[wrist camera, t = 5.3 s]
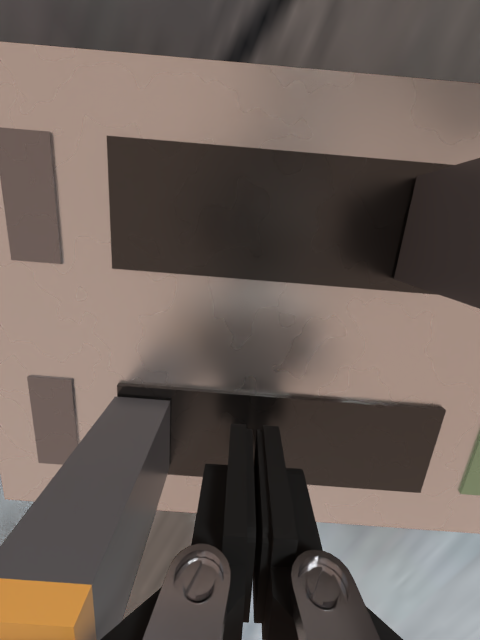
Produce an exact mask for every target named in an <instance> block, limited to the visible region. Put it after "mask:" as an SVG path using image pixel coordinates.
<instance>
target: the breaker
mask: <svg viewBox="0 0 480 640" xmlns="http://www.w3.org/2000/svg"><path fill="white" fill-rule="evenodd" d="M394 279H395V280H398V281H401V282H404V283H406V284H409V285H412V286H415V287H418V288H421V289H424V290H427V291H430V292H433V293H435V294H438V295H441V296H444V297H447V298H450V299H453V300H456V301H459V302H461V303H464V304H467V305H470V306H473V307H476V308H479V309H480V158H477V159H474V160H470V161H467V162H463V163H460V164H457V165H453V166H450V167H447V168H443V169H440V170H436V171H433V172H430V173H426V174H423V175H420V176H417V178H416V182H415V187H414V191H413V196H412V200H411V205H410V209H409V213H408V218H407V222H406V227H405V231H404V236H403V240H402V245H401V249H400V254H399V258H398V263H397V267H396V272H395V276H394Z"/></svg>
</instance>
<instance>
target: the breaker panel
mask: <svg viewBox="0 0 480 640" xmlns="http://www.w3.org/2000/svg"><path fill="white" fill-rule="evenodd" d="M477 158H480V83H470V82H458V81H447V80H436V79H424V78H413V77H401V76H390V75H378V74H367V73H355V72H344V71H332V70H321V69H309V68H298V67H286V66H275V65H263V64H252V63H240V62H229V61H217V60H206V59H194V58H183V57H171V56H160V55H148V54H137V53H125V52H114V51H103V50H91V49H80V48H68V47H57V46H45V45H34V44H22V43H11V42H0V474H1V480H2V485H3V491H4V497H5V499H9V500H23V501H36V499H37V498H38V497H39V495H40V494H41V493H42V491H43V490H44V489H45V487H46V486H47V485H48V484H49V482H50V481H51V480H52V478H53V477H54V476H55V474H56V473H57V472H58V470H59V469H60V468H61V467H62V465H63V464H64V463H65V461H66V460H67V459H68V457H69V456H70V455H71V453H72V452H73V451H74V450H75V448H76V447H77V446H78V444H79V443H80V442H81V440H82V439H83V438H84V436H85V435H86V434H87V433H88V431H89V430H90V429H91V427H92V426H93V425H94V423H95V422H96V421H97V419H98V418H99V417H100V416H101V414H102V413H103V412H104V410H105V409H106V408H107V406H108V405H109V404H110V402H111V401H112V400H113V399H114V397H129V398H142V399H155V400H168V401H170V457H169V471H168V474H167V477H166V481H165V484H164V487H163V490H162V493H161V497H160V500H159V503H158V506H157V510H161V511H174V512H188V513H197V509H198V503H199V497H200V491H201V485H202V479H203V473H204V467H205V464H221V465H228V456H229V442H230V428H231V424H246V429H252V432H253V458H254V452H255V440H256V430H257V429H259V430H262V426H263V425H267V426H279V430H280V436H281V442H282V447H283V453H284V459H285V465H286V468H297V469H302V470H303V472H304V475H305V479H306V484H307V488H308V492H309V496H310V500H311V504H312V509H313V513H314V517H315V521H316V522H326V523H340V524H354V525H368V526H382V527H395V528H409V529H423V530H437V531H451V532H464V533H478V534H480V309H479V308H476V307H473V306H470V305H467V304H464V303H461V302H459V301H456V300H453V299H450V298H447V297H444V296H441V295H438V294H435V293H433V292H430V291H427V290H424V289H421V288H418V287H415V286H412V285H409V284H406V283H404V282H401V281H398V280H395V279H394V276H395V272H396V267H397V263H398V258H399V254H400V249H401V245H402V240H403V236H404V231H405V227H406V222H407V218H408V213H409V209H410V205H411V200H412V196H413V191H414V187H415V182H416V178H417V176H420V175H423V174H426V173H430V172H433V171H436V170H440V169H443V168H447V167H450V166H453V165H457V164H460V163H463V162H467V161H470V160H474V159H477Z"/></svg>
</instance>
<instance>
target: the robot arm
mask: <svg viewBox="0 0 480 640" xmlns="http://www.w3.org/2000/svg"><path fill="white" fill-rule="evenodd" d="M252 580H253V604H254V623H262V640H403V639H402V638H401V637H400V636H398V635H397V634H396V633H395V632H394V631H393V630H392V629H391V628H390V627H388V626H387V625H386V624H385V623H384V622H383V621H382V620H381V619H380V618H378V617H377V616H376V615H375V614H374V613H373V612H372V611H371V610H370V609H368V608H367V607H366V606H365V604H364V602H363V599H362V597H361V595H360V593H359V590H358V588H357V586H356V583H355V581H354V579H353V577H352V575H351V574H350V572H349V570H348V569H347V567H346V566H345V565H344V564H343V563H342V562H341V561H340V560H339V559H338V558H336V557H335V556H333V555H332V554H330V553H327V552H325V551H323V550H322V546H321V542H320V538H319V534H318V529H317V525H316V521H315V517H314V513H313V509H312V504H311V500H310V496H309V492H308V488H307V484H306V479H305V475H304V472H303V470H302V469H297V468H286V465H285V459H284V453H283V447H282V442H281V436H280V430H279V426H267V425H263V426H262V430H259V429H257V430H256V440H255V452H254V458H253V432H252V429H246V424H231V428H230V442H229V456H228V465H221V464H205V467H204V473H203V479H202V485H201V491H200V497H199V503H198V509H197V515H196V521H195V527H194V533H193V539H192V545H191V546H189V547H187V548H185V549H184V550H182V551H181V552H180V553H179V554H178V555H177V556H176V557H175V558H174V559H173V561H172V563H171V565H170V567H169V569H168V572H167V574H166V577H165V580H164V582H163V585H162V587H161V588H160V589H159V590H158V591H157V592H155V593H154V594H153V595H152V596H151V597H150V598H148V599H147V600H146V601H145V602H144V603H143V604H141V605H140V606H139V607H138V608H137V609H135V610H134V611H133V612H132V613H131V614H130V615H128V616H127V617H126V618H125V619H124V620H123V621H121V622H120V623H119V624H118V625H117V626H116V627H114V628H113V629H112V630H111V631H110V632H108V633H107V634H106V635H105V636H104V637H103V638H101V639H100V640H241V639H242V627H243V622H249V613H250V602H251V591H252Z"/></svg>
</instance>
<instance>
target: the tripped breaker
mask: <svg viewBox="0 0 480 640" xmlns="http://www.w3.org/2000/svg"><path fill="white" fill-rule="evenodd" d="M169 457H170V401H168V400H155V399H142V398H129V397H114V399H113V400H112V401H111V402H110V404H109V405H108V406H107V408H106V409H105V410H104V412H103V413H102V414H101V416H100V417H99V418H98V419H97V421H96V422H95V423H94V425H93V426H92V427H91V429H90V430H89V431H88V433H87V434H86V435H85V436H84V438H83V439H82V440H81V442H80V443H79V444H78V446H77V447H76V448H75V450H74V451H73V452H72V453H71V455H70V456H69V457H68V459H67V460H66V461H65V463H64V464H63V465H62V467H61V468H60V469H59V470H58V472H57V473H56V474H55V476H54V477H53V478H52V480H51V481H50V482H49V484H48V485H47V486H46V487H45V489H44V490H43V491H42V493H41V494H40V495H39V497H38V498H37V499H36V501H35V502H34V503H33V504H32V506H31V507H30V508H29V510H28V511H27V512H26V514H25V515H24V516H23V518H22V519H21V520H20V521H19V523H18V524H17V525H16V527H15V528H14V529H13V531H12V532H11V533H10V535H9V536H8V537H7V538H6V540H5V541H4V542H3V544H2V545H1V546H0V640H100V639H101V638H103V637H104V636H105V635H106V634H107V633H108V632H110V631H111V630H112V629H113V628H114V627H116V626H117V625H118V624H119V623H120V622H121V621H122V619H123V616H124V612H125V609H126V606H127V603H128V600H129V596H130V593H131V590H132V587H133V583H134V580H135V577H136V574H137V571H138V567H139V564H140V561H141V558H142V555H143V551H144V548H145V545H146V542H147V538H148V535H149V532H150V529H151V526H152V522H153V519H154V516H155V513H156V510H157V506H158V503H159V500H160V497H161V493H162V490H163V487H164V484H165V481H166V477H167V474H168V471H169Z"/></svg>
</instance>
